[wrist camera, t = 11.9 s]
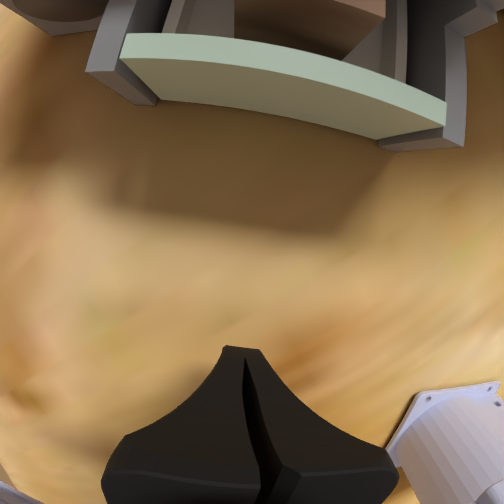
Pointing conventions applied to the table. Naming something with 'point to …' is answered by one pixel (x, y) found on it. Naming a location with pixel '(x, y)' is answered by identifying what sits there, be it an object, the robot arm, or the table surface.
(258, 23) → the walnut block
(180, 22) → the drawer
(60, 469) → the table surface
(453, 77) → the box
